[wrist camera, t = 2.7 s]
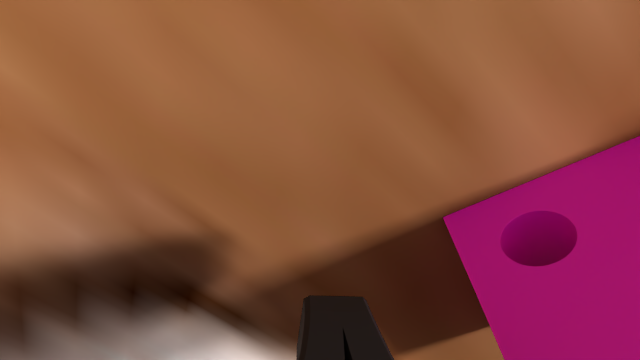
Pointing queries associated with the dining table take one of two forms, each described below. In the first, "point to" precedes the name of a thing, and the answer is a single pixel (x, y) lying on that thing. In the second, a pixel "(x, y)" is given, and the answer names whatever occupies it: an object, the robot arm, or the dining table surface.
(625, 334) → the toy block
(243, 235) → the dining table surface
